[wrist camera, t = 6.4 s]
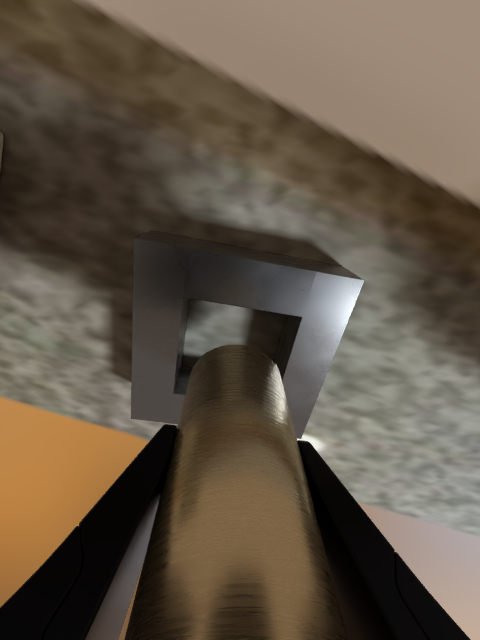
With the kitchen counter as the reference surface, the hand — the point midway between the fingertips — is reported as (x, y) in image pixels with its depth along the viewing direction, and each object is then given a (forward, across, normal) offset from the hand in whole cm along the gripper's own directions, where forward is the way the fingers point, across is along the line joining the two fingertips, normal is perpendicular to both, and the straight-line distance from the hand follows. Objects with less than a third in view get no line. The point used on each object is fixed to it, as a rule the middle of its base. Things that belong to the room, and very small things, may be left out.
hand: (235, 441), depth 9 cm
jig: (+8, 0, 0) cm, 8 cm away
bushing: (+3, 0, 0) cm, 3 cm away
